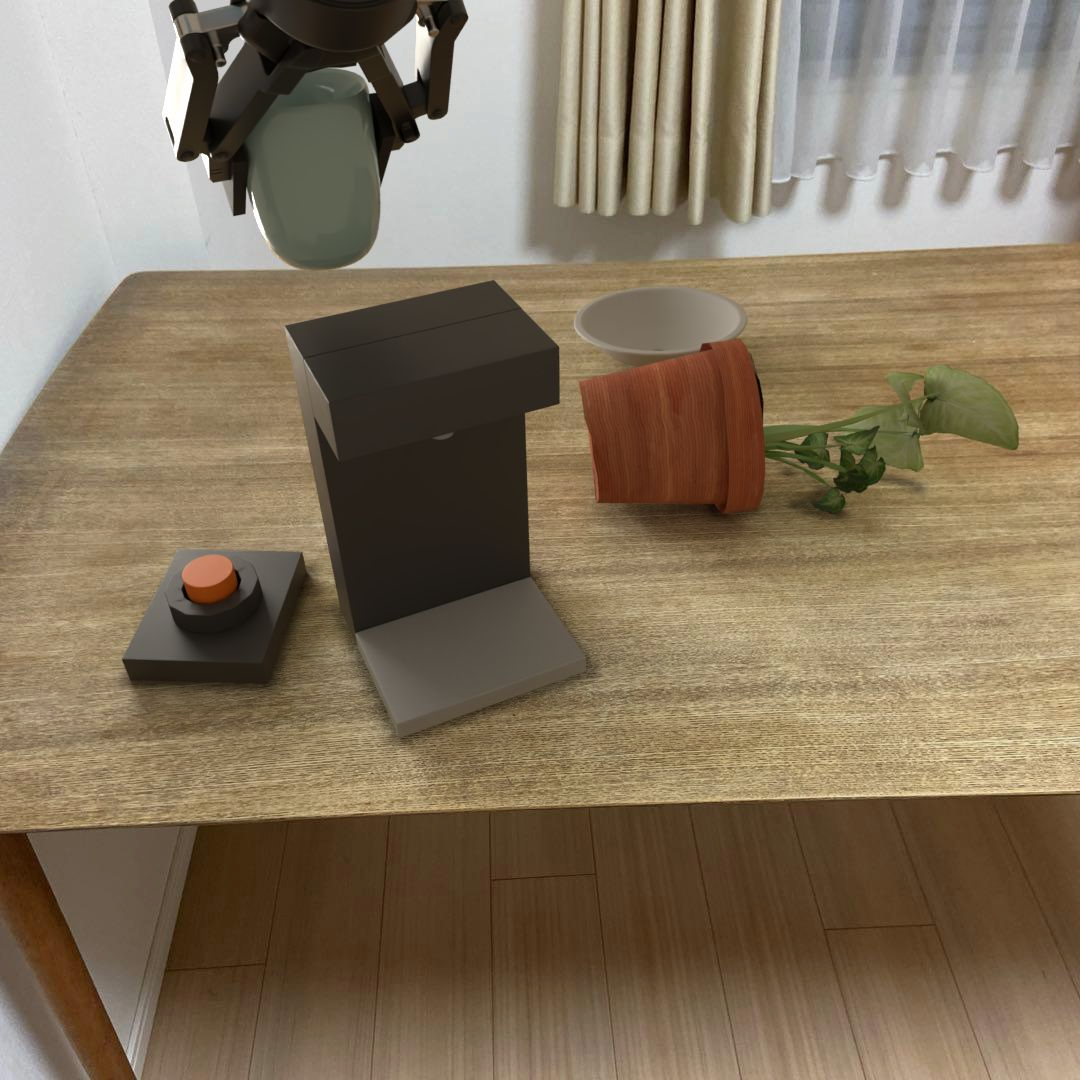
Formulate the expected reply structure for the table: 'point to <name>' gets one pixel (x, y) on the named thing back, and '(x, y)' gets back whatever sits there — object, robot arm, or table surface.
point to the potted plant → (762, 430)
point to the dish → (658, 322)
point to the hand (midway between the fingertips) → (301, 181)
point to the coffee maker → (433, 495)
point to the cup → (317, 172)
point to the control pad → (218, 622)
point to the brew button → (209, 579)
